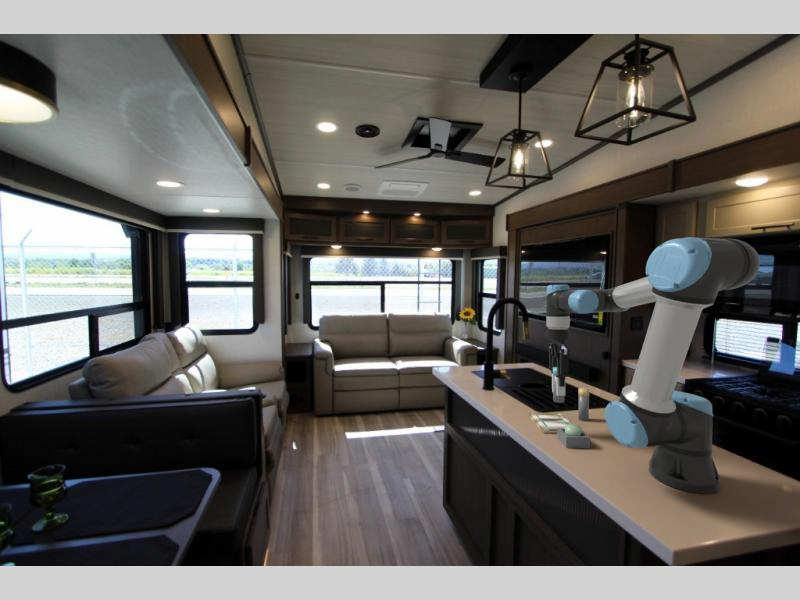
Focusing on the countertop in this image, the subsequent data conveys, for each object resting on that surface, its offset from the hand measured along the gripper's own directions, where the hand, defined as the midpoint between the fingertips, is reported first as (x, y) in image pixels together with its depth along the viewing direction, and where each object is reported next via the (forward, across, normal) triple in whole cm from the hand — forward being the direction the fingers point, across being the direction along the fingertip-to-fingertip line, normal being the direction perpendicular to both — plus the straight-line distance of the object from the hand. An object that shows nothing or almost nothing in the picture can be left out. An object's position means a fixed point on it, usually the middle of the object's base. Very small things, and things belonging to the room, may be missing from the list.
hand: (558, 393), depth 127 cm
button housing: (+14, -8, -2) cm, 17 cm away
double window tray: (+14, +8, -1) cm, 16 cm away
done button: (+13, -8, -2) cm, 15 cm away
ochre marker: (+14, +13, -14) cm, 24 cm away
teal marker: (+3, 0, 0) cm, 3 cm away
